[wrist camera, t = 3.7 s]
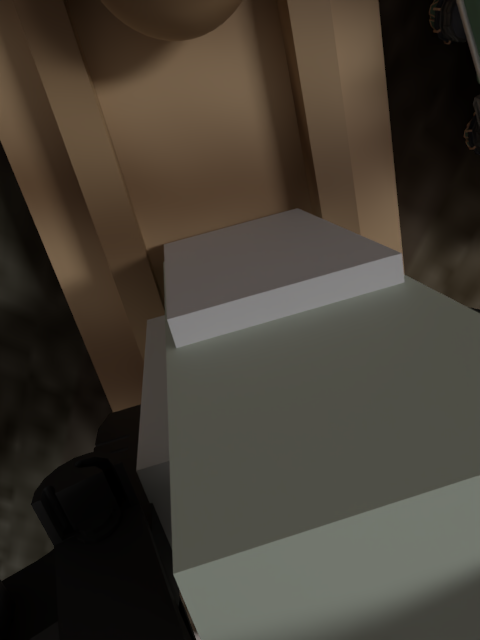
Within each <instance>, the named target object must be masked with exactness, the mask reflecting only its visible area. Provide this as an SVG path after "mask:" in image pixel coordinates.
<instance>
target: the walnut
mask: <svg viewBox="0 0 480 640" xmlns="http://www.w3.org/2000/svg"><path fill="white" fill-rule="evenodd" d="M242 1H243V0H101V2H102V3H103V4H104V6H105V7H106V8H107V9H108V10H109V11H110V12H111V13H112V14H113V15H114V16H115V17H117V18H118V19H119V20H120V21H122V22H123V23H124V24H125V25H127V26H129V27H130V28H132V29H133V30H135V31H137V32H139V33H141V34H144V35H146V36H149V37H152V38H156V39H159V40H166V41H184V40H190V39H194V38H198V37H201V36H203V35H205V34H207V33H209V32H211V31H213V30H215V29H216V28H217V27H219V26H220V25H222V24H223V23H224V22H225V21H226V20H227V19H228V18H229V17H230V16H231V15H232V14H233V13H234V12H235V10H236V9H237V8H238V7H239V5H240V4H241V3H242Z"/></svg>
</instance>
